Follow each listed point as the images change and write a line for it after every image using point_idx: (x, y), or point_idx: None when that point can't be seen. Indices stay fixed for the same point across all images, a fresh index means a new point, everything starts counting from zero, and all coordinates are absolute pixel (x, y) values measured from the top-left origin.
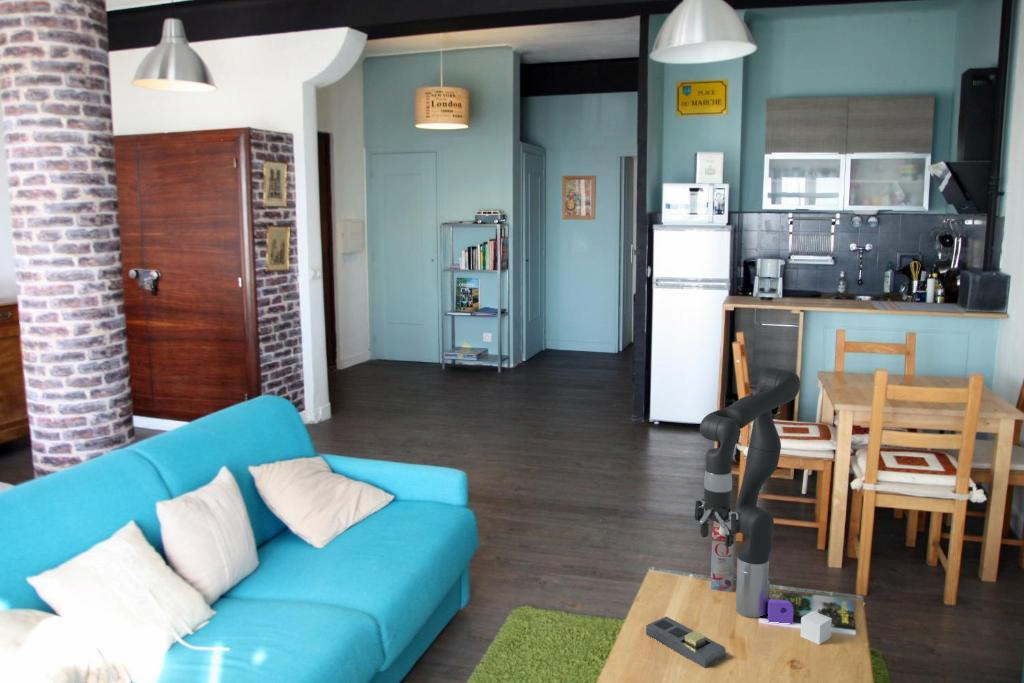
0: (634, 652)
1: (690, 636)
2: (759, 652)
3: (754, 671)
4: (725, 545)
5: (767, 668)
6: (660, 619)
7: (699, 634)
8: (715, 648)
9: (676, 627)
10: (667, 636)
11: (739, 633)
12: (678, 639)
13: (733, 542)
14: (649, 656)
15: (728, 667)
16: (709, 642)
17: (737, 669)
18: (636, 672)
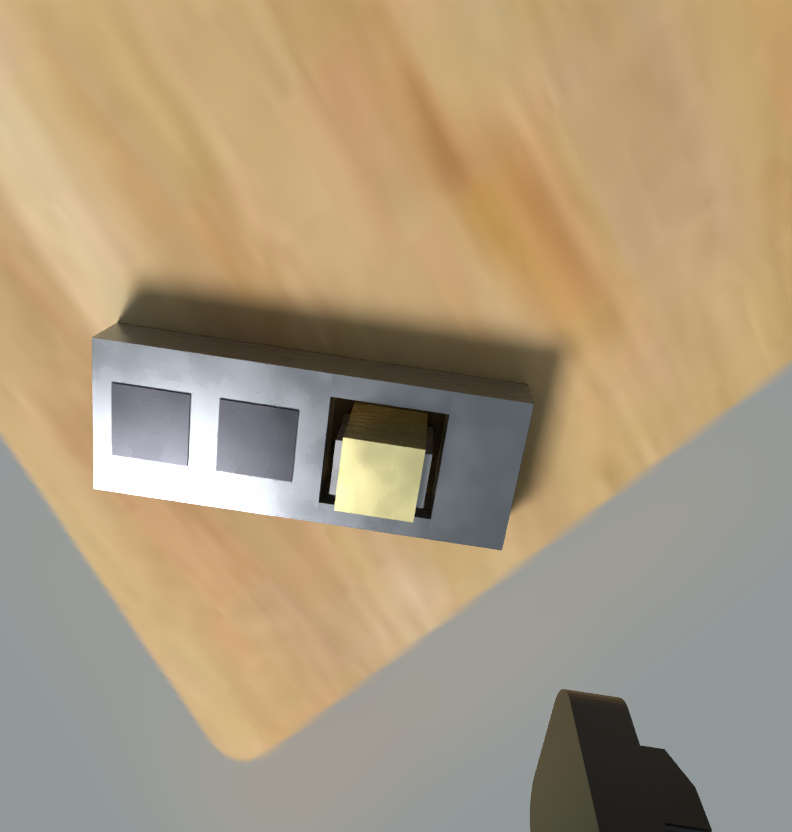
0: (191, 611)
1: (362, 500)
2: (653, 212)
3: (705, 396)
4: (535, 828)
5: (751, 328)
6: (96, 389)
7: (386, 451)
8: (497, 447)
9: (215, 403)
10: (244, 508)
11: (463, 96)
12: (302, 495)
13: (699, 802)
14: (257, 596)
15: (583, 448)
16: (437, 411)
17: (627, 435)
18: (300, 712)
